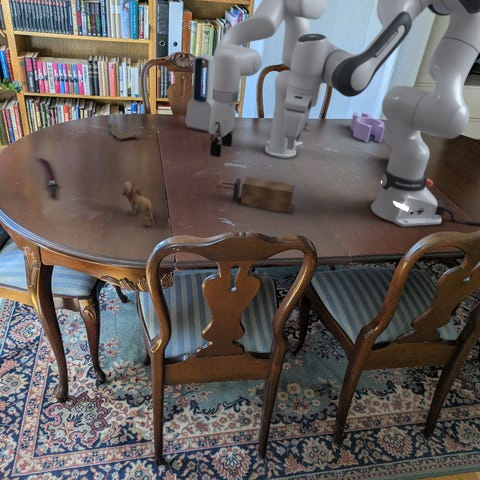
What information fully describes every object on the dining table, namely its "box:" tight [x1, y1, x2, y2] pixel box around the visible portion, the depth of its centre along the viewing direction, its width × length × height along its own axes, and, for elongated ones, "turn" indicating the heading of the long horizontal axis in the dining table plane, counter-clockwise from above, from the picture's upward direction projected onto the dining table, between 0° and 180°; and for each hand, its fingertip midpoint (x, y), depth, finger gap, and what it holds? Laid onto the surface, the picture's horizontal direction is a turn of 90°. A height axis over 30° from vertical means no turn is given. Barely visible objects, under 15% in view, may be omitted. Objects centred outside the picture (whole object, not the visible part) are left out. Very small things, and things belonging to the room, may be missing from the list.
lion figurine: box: [119, 181, 159, 227], centre depth 134 cm, size 15×5×9 cm, turn 50°
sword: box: [40, 158, 59, 198], centre depth 151 cm, size 31×3×1 cm, turn 26°
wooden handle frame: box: [216, 178, 243, 201], centre depth 148 cm, size 20×4×6 cm, turn 78°
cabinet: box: [240, 176, 296, 214], centre depth 147 cm, size 16×5×7 cm, turn 78°
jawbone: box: [109, 121, 143, 140], centre depth 188 cm, size 9×20×2 cm, turn 50°
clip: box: [349, 112, 386, 143], centre depth 214 cm, size 20×12×7 cm, turn 11°
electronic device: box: [184, 53, 215, 133], centre depth 194 cm, size 12×8×30 cm, turn 71°
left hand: (220, 150), depth 145 cm, fingers open, 9 cm apart
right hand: (293, 143), depth 138 cm, fingers open, 8 cm apart
